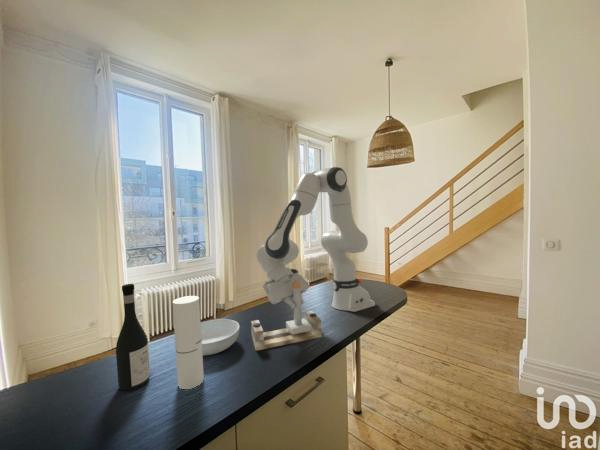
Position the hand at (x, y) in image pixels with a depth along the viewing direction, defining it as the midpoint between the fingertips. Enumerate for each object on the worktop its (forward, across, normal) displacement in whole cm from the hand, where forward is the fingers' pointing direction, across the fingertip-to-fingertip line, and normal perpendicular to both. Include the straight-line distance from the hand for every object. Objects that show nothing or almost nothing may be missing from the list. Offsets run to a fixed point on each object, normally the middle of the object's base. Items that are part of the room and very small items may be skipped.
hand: (298, 305), depth 103 cm
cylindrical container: (+4, -42, +13) cm, 44 cm away
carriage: (+6, 0, +7) cm, 10 cm away
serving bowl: (-5, -27, +23) cm, 36 cm away
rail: (+7, -4, +11) cm, 13 cm away
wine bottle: (-5, -52, +22) cm, 57 cm away
